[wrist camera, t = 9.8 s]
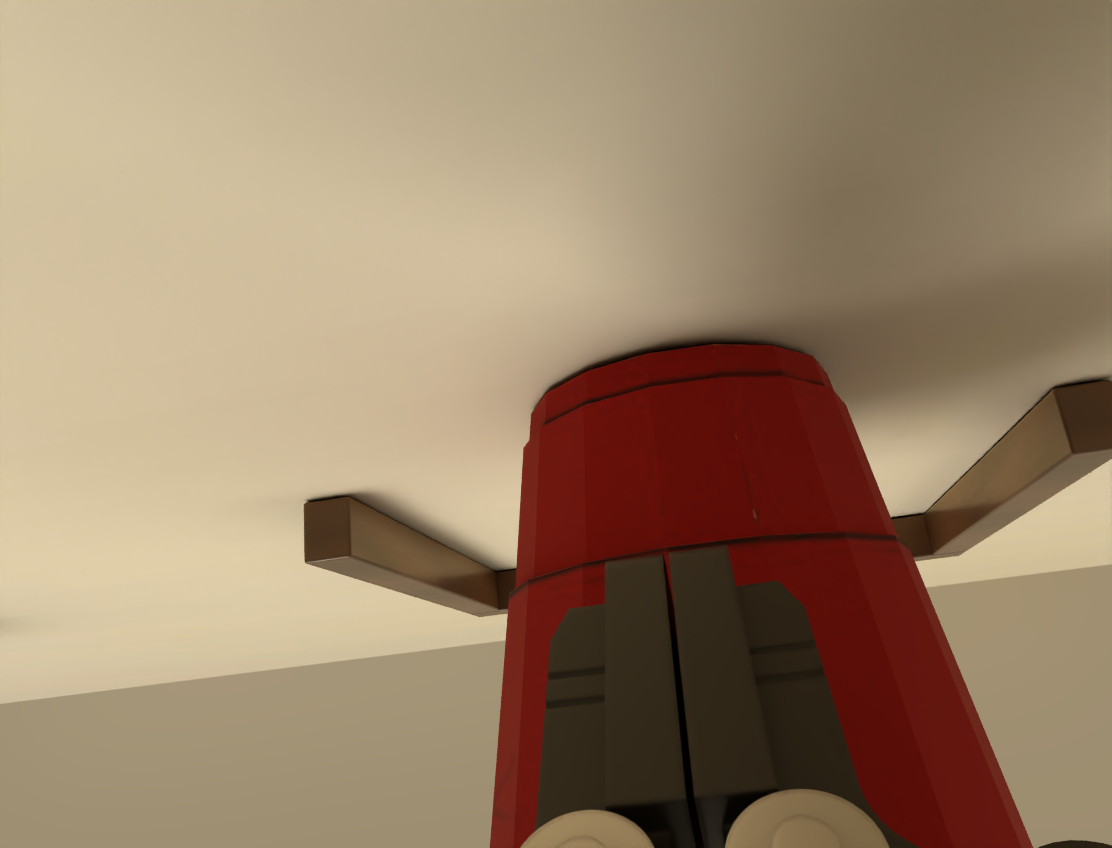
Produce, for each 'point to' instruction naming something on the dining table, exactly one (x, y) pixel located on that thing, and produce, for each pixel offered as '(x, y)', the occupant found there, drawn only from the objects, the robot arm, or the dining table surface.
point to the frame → (943, 531)
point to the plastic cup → (746, 568)
